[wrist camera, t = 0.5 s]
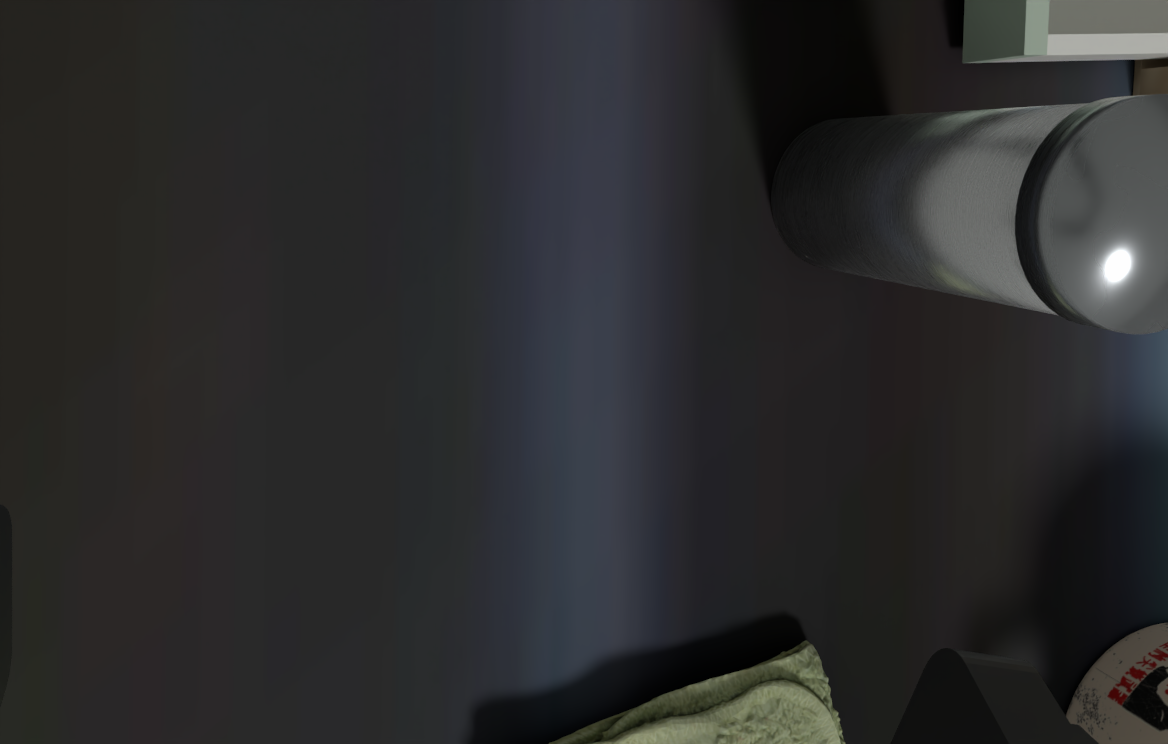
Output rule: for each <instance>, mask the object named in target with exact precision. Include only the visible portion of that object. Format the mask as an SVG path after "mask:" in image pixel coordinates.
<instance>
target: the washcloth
mask: <svg viewBox="0 0 1168 744" xmlns="http://www.w3.org/2000/svg"><path fill="white" fill-rule="evenodd" d="M830 691H831V689H830V687H829V685H828V677H827V676H826V674H825V673H824V671H823V669H822V663H821V660H820V657H819V655H818V653H817V651H816V650H815V648H814V646H813V645H812V644H810V643H809V642H808V641H807V640H806V641H803V642H802V643H801V644H800V645H797V646H796V647H795V648H793V649H791V650H789V651H787V652H785V651H783V652H781V653H780V655H778V656H776V657H774V658H772V659H770V660H767V661H765V662H762V663H759V664H757V665H756V666H753V667H750V668H747V669H744V670H741V671H737V672H733V673H730V674H725V675H723V676H719V677H715V678H710V679H708V680H705V681H702V682H698V683H695V684H691V685H688V686H686V687H683V688H681V689H678V690H674V691H672V692H668V693H665V694H662V695H660V696H658V697H655V698H653V699H652V700H651V701H649V702H646V703H644V704H642V705H640V706H638V707H636V708H633V709H630V710H628V711H625V712H623V713H620V714H617V715H615V716H612V717H609V718H607V719H604V720H601V721H599V722H596V723H594V724H592V725H589V726H587V727H585V728H583V729H580V730H578V731H576V732H574V733H572V734H570V735H568V736H565V737H562V738H560V739H559V740H557V741H554V742H550V743H549V744H845V742H844V740H843V736H842V728H841V725H840V723H839V721H840V718H839V717H838V712H837V711H836V710H835V709H833V706H832V699H831V696H830Z"/></svg>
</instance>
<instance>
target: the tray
mask: <svg viewBox="0 0 1168 744" xmlns="http://www.w3.org/2000/svg"><path fill="white" fill-rule="evenodd" d="M1140 59H1168V0H965V2H964V32H963V62H962V63H986V62H1037V61H1089V60H1140Z"/></svg>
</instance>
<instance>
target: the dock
mask: <svg viewBox="0 0 1168 744" xmlns="http://www.w3.org/2000/svg"><path fill="white" fill-rule="evenodd" d="M1153 94H1168V59H1140V60H1135V70H1134V86H1133V96H1138V95H1153Z"/></svg>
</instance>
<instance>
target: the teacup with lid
mask: <svg viewBox="0 0 1168 744" xmlns="http://www.w3.org/2000/svg"><path fill="white" fill-rule="evenodd" d="M1066 717H1067V719H1068V721H1069V722H1070V724H1076V725H1080V726H1081V727H1082V728H1083V729H1084V730H1085V731H1086V732H1087V733H1088V734H1089V735H1090V736H1091V737H1092V738H1093V739H1095V740H1096V741H1097V742H1098V743H1099V744H1168V623H1161V624H1156V625H1152V626H1149V627H1146V628H1143V629H1140V630H1138V631H1136V632H1134V633H1132V634H1130V635H1128V636H1126V637H1125V638H1123V639H1121V640H1120V641H1119V642H1117V643H1116V644H1114V645H1113V646H1112V647H1111V648H1109V649H1108V650H1107V651H1106V652H1105V653H1104V654H1103V655H1102V656H1101V657H1100V658H1099V659H1098V660H1097V661H1096V662H1095V663H1094V664H1093V666H1092V667H1091V668H1090V669H1089V671H1088V672H1087V673H1086V675H1085V676H1084V678H1083V679H1082V681H1081V682H1080V684H1079V686H1078V688H1077V690H1076V691H1075V693H1074V696H1073V698H1072V700H1071V702H1070V705H1069V708H1068V711H1067V714H1066Z"/></svg>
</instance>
